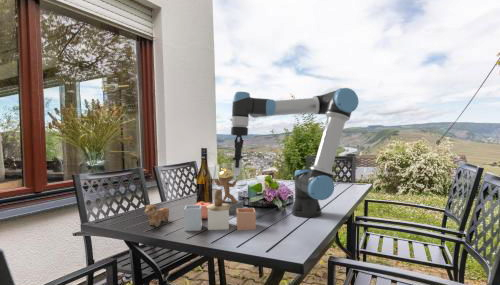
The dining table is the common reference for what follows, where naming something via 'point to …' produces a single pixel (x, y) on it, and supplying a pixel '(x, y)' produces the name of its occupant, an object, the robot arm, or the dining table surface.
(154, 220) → the figurine
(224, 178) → the figurine
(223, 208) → the lid
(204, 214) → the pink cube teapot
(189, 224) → the light blue square vase
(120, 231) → the dining table surface
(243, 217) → the terracotta pot
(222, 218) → the cream square box
